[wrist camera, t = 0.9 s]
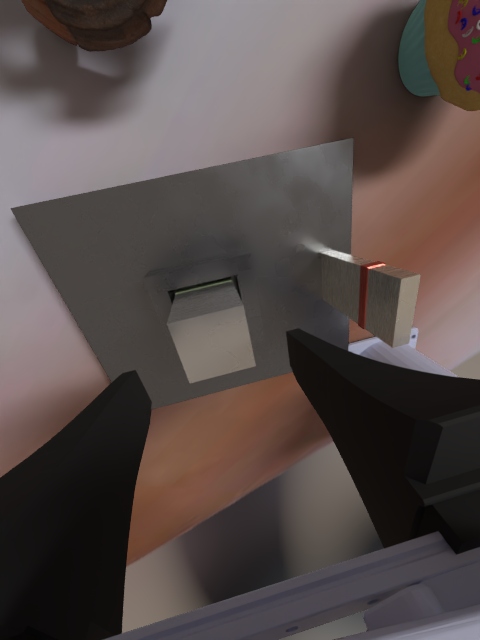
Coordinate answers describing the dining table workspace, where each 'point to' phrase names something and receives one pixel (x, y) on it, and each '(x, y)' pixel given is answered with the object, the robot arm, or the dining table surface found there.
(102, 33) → the broken terracotta ring
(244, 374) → the stand base
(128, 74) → the dining table surface
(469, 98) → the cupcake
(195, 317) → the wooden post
